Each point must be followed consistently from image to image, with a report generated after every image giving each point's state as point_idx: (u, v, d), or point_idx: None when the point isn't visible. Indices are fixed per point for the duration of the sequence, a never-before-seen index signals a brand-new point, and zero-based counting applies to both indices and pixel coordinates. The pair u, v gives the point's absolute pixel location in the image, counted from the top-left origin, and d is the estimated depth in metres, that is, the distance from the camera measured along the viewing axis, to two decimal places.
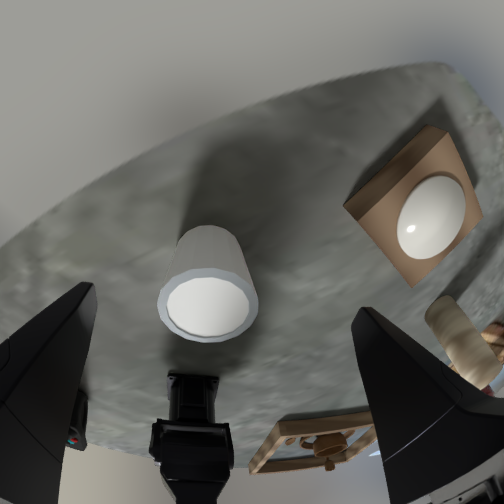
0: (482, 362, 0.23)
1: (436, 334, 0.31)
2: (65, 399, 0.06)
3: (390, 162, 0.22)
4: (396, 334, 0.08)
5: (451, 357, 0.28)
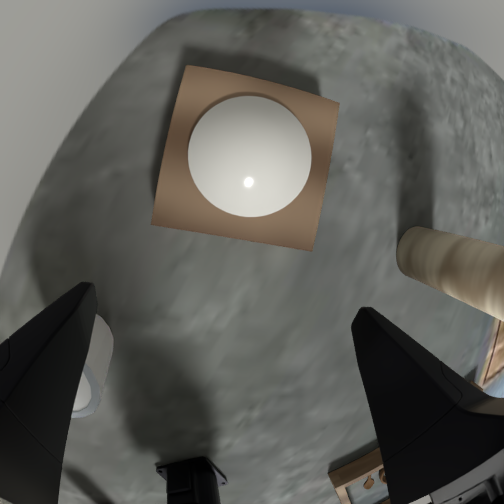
0: (493, 271, 0.14)
1: (424, 282, 0.23)
2: (65, 399, 0.06)
3: None
4: (396, 334, 0.08)
5: (456, 296, 0.19)
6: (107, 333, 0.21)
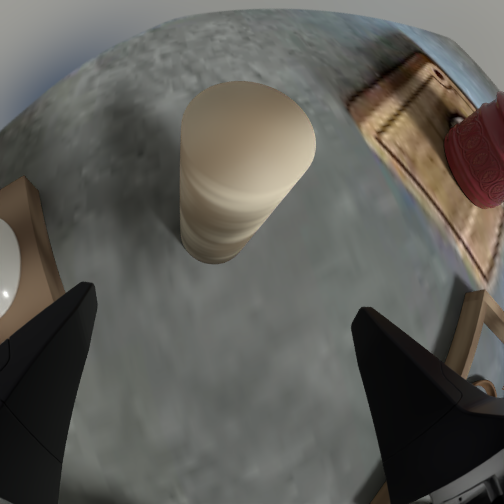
0: (180, 158, 0.11)
1: (219, 253, 0.19)
2: (65, 399, 0.06)
3: None
4: (396, 334, 0.08)
5: (227, 235, 0.15)
6: None
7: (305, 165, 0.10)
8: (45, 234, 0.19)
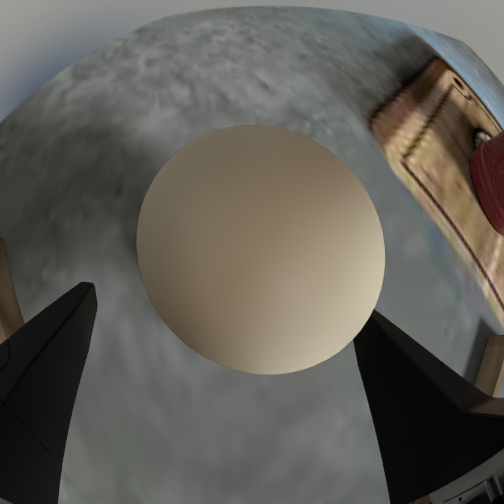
0: None
1: None
2: (65, 399, 0.06)
3: None
4: (396, 334, 0.08)
5: None
6: None
7: (368, 305, 0.06)
8: (12, 297, 0.14)
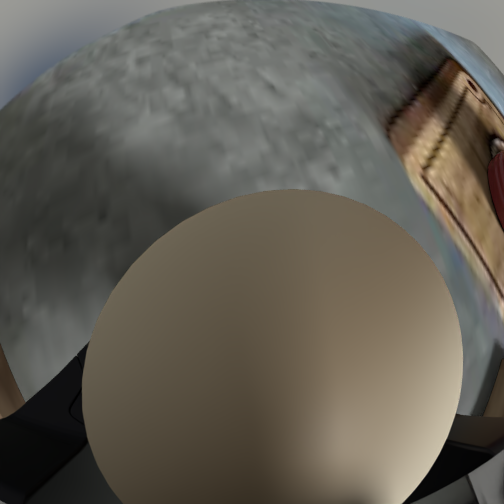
0: None
1: None
2: None
3: None
4: None
5: None
6: None
7: (430, 458, 0.03)
8: None
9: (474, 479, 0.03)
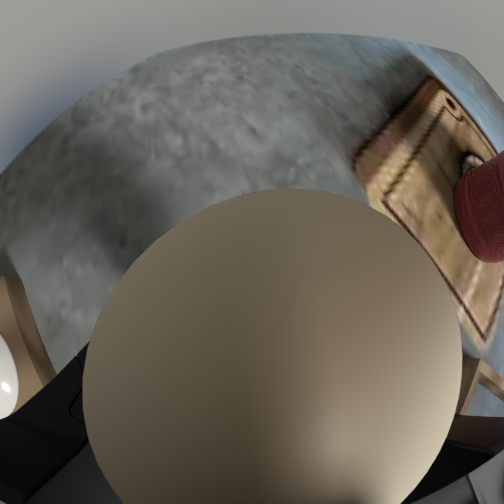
0: None
1: None
2: None
3: None
4: None
5: None
6: None
7: (430, 457, 0.03)
8: (35, 333, 0.17)
9: (474, 479, 0.03)
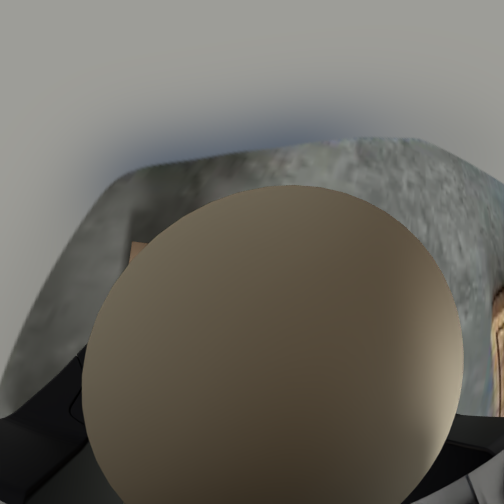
0: None
1: None
2: None
3: None
4: None
5: None
6: None
7: (431, 455, 0.03)
8: None
9: (474, 479, 0.03)
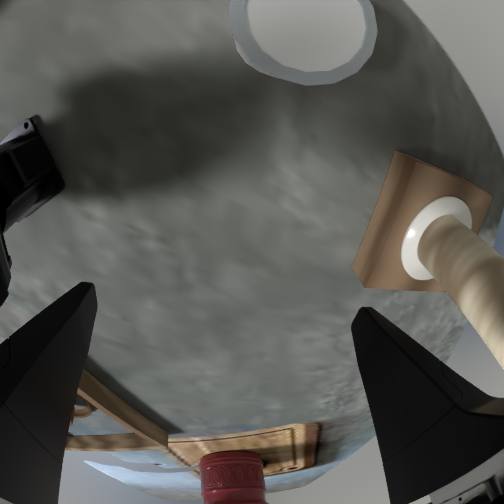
0: None
1: (443, 264, 0.18)
2: (65, 399, 0.06)
3: None
4: (396, 334, 0.08)
5: (476, 300, 0.14)
6: None
7: None
8: None
9: None
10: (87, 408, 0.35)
